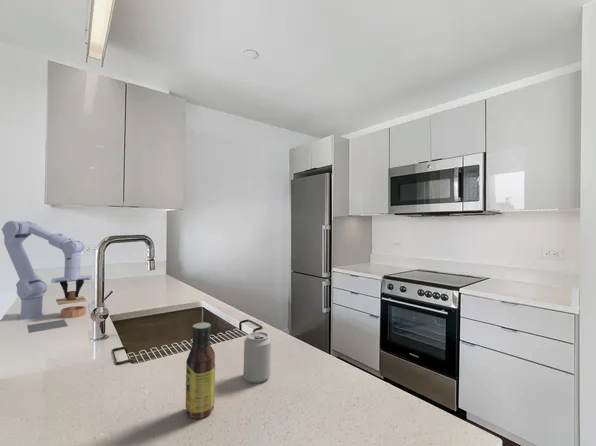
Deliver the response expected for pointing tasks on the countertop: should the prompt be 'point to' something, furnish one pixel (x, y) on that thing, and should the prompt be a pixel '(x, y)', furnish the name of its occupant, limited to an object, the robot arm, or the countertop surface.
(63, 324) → the mat
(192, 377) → the sauce bottle
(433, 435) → the countertop surface
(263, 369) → the can
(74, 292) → the lid
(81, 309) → the bowl
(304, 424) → the countertop surface
